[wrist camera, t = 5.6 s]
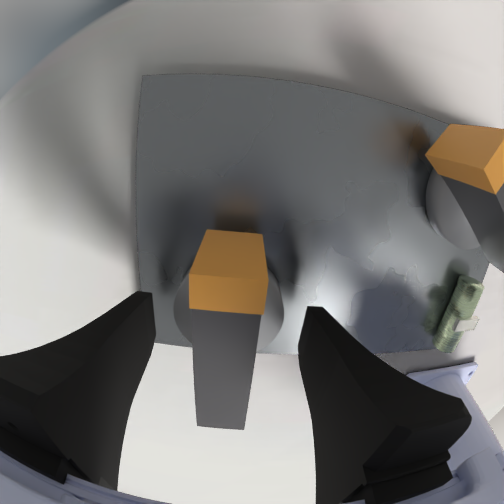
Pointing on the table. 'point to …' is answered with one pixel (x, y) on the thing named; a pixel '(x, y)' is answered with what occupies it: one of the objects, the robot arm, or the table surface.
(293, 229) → the plate
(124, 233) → the table surface
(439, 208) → the knob
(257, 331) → the knob
